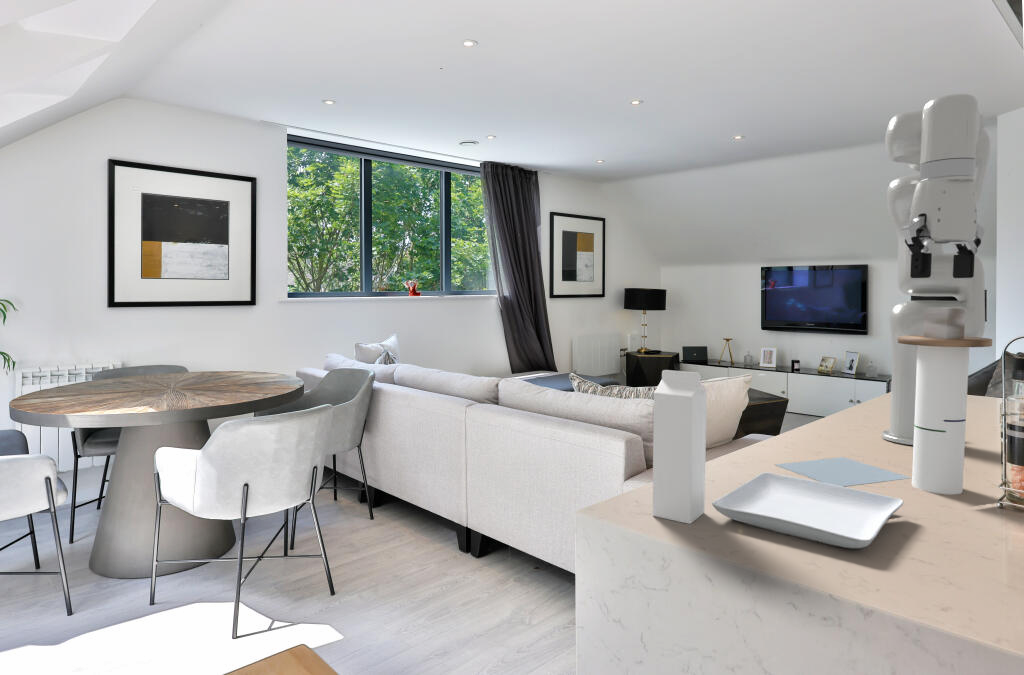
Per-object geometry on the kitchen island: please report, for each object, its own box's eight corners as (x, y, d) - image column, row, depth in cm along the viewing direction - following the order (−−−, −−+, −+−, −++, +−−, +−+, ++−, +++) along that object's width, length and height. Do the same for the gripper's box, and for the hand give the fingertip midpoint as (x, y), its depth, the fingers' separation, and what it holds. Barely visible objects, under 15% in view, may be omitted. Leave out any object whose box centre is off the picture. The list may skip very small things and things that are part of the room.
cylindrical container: (970, 498, 103) (978, 345, 101) (922, 495, 104) (928, 345, 102) (949, 485, 110) (956, 342, 108) (904, 482, 111) (910, 341, 109)
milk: (667, 505, 100) (669, 367, 99) (705, 513, 96) (707, 370, 95) (651, 516, 95) (653, 371, 94) (690, 524, 92) (692, 374, 90)
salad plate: (869, 565, 79) (870, 538, 78) (708, 524, 93) (708, 501, 93) (905, 519, 94) (906, 497, 94) (762, 490, 109) (763, 470, 108)
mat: (843, 459, 127) (843, 457, 127) (911, 480, 113) (911, 477, 112) (774, 467, 121) (774, 464, 121) (836, 490, 107) (836, 487, 107)
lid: (935, 340, 113) (936, 306, 113) (1011, 345, 101) (1013, 308, 101) (879, 342, 109) (881, 307, 109) (952, 348, 97) (954, 309, 97)
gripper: (961, 180, 111) (957, 278, 112) (887, 175, 105) (883, 278, 106) (1007, 173, 103) (1001, 277, 105) (929, 167, 98) (924, 277, 99)
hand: (941, 277), depth 106 cm, fingers open, 9 cm apart
